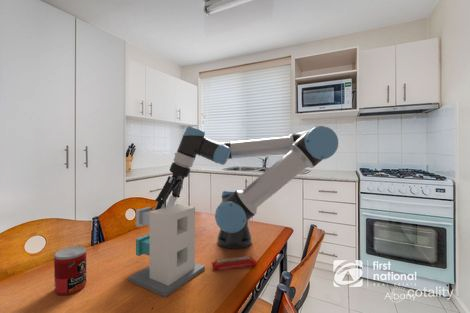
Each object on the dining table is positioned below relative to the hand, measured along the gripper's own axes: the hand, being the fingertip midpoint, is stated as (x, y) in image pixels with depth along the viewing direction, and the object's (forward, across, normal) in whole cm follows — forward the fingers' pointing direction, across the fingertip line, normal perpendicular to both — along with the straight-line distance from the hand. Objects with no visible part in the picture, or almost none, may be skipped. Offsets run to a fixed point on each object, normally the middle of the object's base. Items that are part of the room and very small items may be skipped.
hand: (161, 214), depth 93 cm
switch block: (+12, +15, +13) cm, 23 cm away
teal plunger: (+9, +12, +7) cm, 17 cm away
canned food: (+22, +24, -10) cm, 35 cm away
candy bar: (+4, +7, +33) cm, 34 cm away
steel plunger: (0, +13, +3) cm, 13 cm away
